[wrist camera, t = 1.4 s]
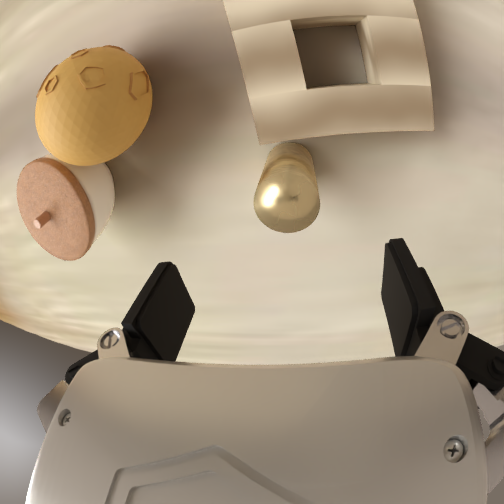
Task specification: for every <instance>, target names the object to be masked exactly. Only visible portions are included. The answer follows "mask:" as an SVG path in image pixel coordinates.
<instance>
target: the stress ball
mask: <svg viewBox="0 0 504 504" xmlns="http://www.w3.org/2000/svg"><path fill="white" fill-rule="evenodd" d="M36 97H37V98H38V99H37V103H36V111H35V122H36V128H37V131H38V134H39V137H40V139H41V141H42V143H43V145H44V146H45V147H46V149H47V150H48V151H49V152H50V153H51V154H52V155H53V156H55V157H56V158H58V159H59V160H61V161H64V162H66V163H68V164H73V165H77V166H91V165H97V164H101V163H104V162H107V161H109V160H111V159H114V158H115V157H117V156H119V155H120V154H122V153H123V152H124V151H126V150H127V149H128V148H129V147H130V146H131V145H132V144H133V143H134V142H135V141H136V140H137V138H138V137H139V136H140V134H141V133H142V131H143V129H144V127H145V126H146V124H147V121H148V119H149V116H150V112H151V108H152V99H153V96H152V86H151V82H150V79H149V75H148V74H147V72H146V70H145V69H144V67H143V66H142V64H141V63H140V62H139V61H138V60H137V59H136V58H134V57H133V56H132V55H130V54H128V53H127V52H125V51H124V50H123V49H122V48H120V47H116V46H111V45H107V46H103V47H96V48H90V49H87V48H86V49H83V50H79V51H77V52H75V53H74V54H72V55H71V56H70V57H69V58H67V59H66V60H64V61H63V62H62V63H61V64H59V65H56V66H55V67H54V68H53V69H52V70H51V71H50V72H49V74H48V75H47V77H46V78H45V80H44V81H43V83H42V85H41V87H40V89H39V91H38V94H37V96H36Z"/></svg>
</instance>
